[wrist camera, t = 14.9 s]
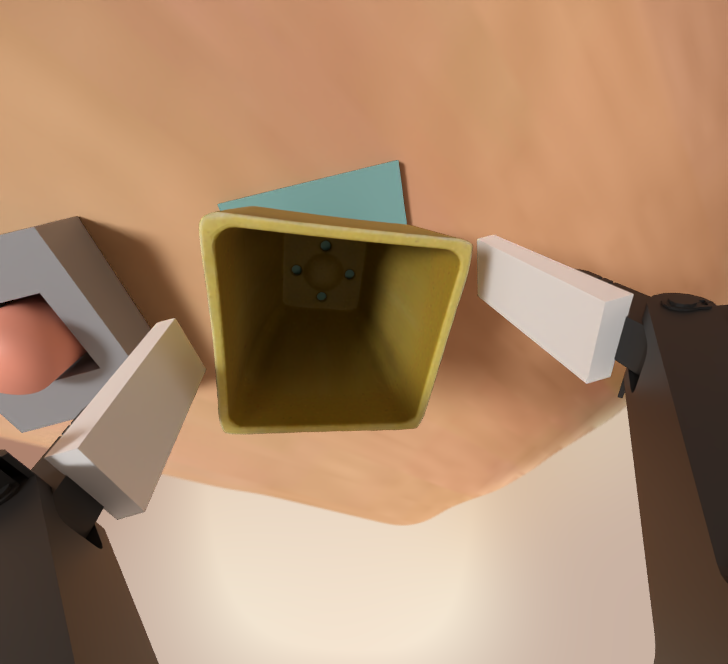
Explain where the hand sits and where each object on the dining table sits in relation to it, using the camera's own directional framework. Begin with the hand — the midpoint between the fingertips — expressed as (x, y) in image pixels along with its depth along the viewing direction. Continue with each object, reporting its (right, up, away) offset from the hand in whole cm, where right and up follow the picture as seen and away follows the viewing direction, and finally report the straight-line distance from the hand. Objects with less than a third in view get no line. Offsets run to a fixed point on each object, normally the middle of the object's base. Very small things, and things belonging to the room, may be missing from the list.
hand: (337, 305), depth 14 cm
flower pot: (-1, +3, +6) cm, 7 cm away
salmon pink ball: (-16, -1, +4) cm, 17 cm away
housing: (-17, 0, +5) cm, 17 cm away
